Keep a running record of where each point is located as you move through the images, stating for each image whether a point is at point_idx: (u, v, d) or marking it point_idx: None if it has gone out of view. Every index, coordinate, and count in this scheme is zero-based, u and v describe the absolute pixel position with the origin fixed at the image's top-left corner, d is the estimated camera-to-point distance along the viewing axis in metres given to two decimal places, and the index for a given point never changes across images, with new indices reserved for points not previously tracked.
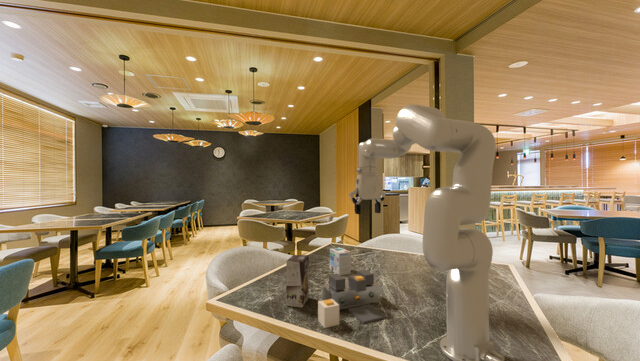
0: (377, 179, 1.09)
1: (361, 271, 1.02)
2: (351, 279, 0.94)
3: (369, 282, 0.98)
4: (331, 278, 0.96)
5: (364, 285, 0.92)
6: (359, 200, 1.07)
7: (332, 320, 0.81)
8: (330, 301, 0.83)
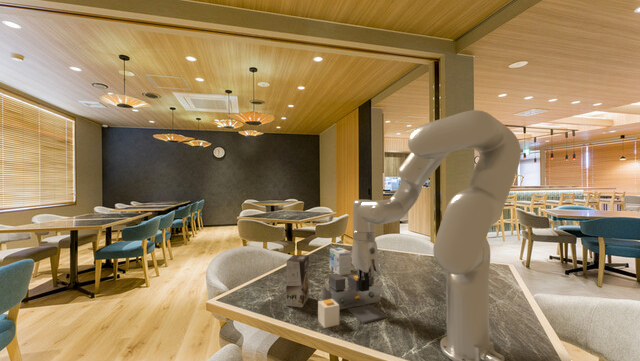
0: None
1: None
2: (350, 279, 0.95)
3: (369, 282, 0.98)
4: (331, 278, 0.96)
5: None
6: None
7: (332, 320, 0.81)
8: (330, 301, 0.83)
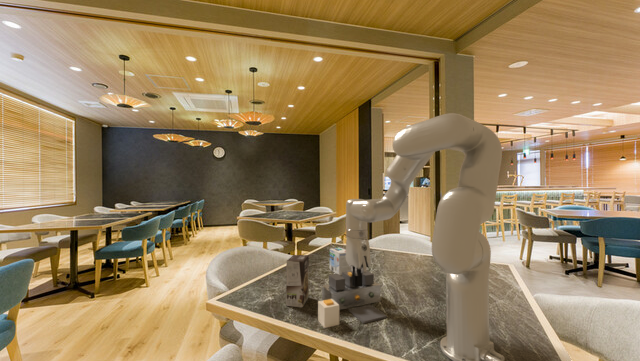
0: None
1: None
2: (344, 275, 0.99)
3: (369, 282, 0.98)
4: (331, 278, 0.96)
5: None
6: None
7: (332, 320, 0.81)
8: (330, 301, 0.83)
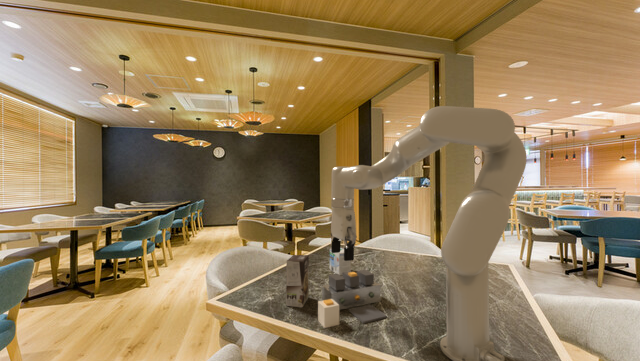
0: None
1: (361, 271, 1.02)
2: (345, 275, 0.99)
3: (369, 282, 0.98)
4: (331, 278, 0.96)
5: (357, 281, 0.96)
6: None
7: (332, 320, 0.81)
8: (330, 301, 0.83)
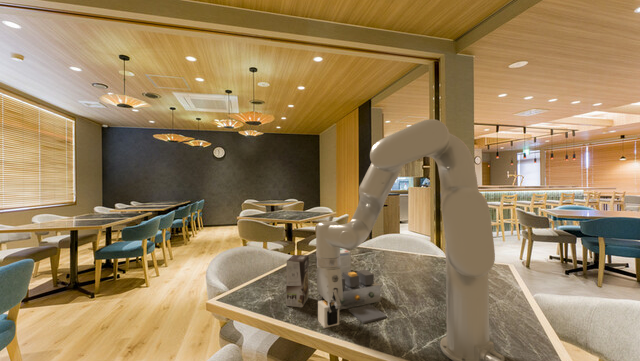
0: None
1: (361, 271, 1.02)
2: (345, 275, 0.99)
3: (369, 282, 0.98)
4: None
5: (357, 281, 0.96)
6: None
7: None
8: None
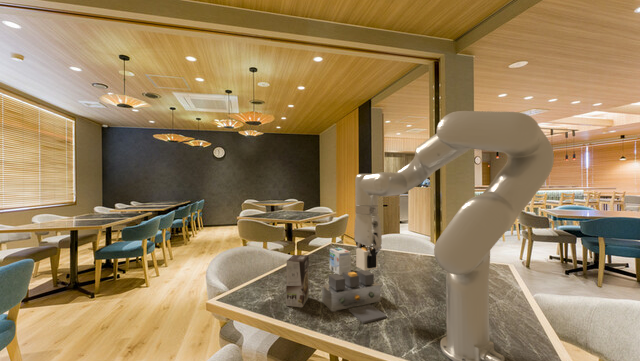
0: None
1: (361, 271, 1.02)
2: (345, 275, 0.99)
3: (369, 282, 0.98)
4: (331, 278, 0.96)
5: (357, 281, 0.96)
6: None
7: None
8: None
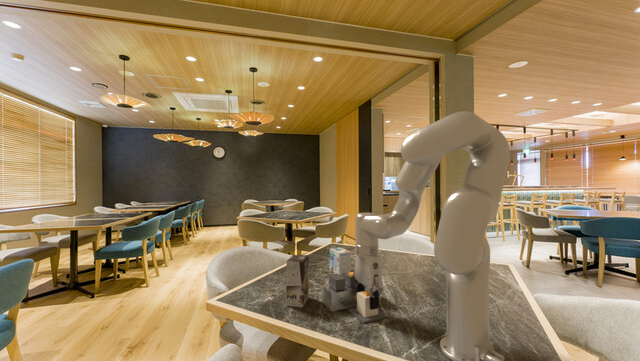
0: None
1: None
2: (345, 275, 0.99)
3: None
4: (331, 278, 0.96)
5: None
6: None
7: (371, 310, 0.86)
8: (369, 292, 0.88)
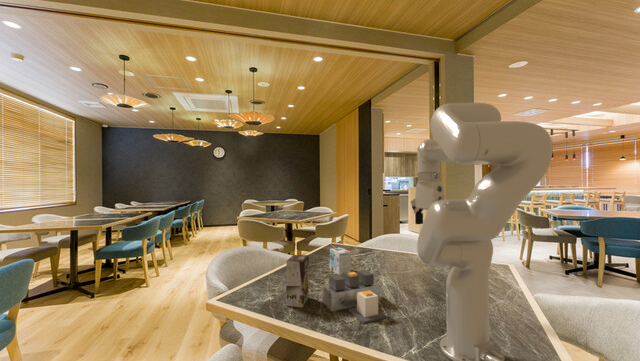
0: None
1: (361, 271, 1.02)
2: (345, 275, 0.99)
3: (369, 282, 0.98)
4: (331, 278, 0.96)
5: (357, 281, 0.96)
6: None
7: (371, 310, 0.86)
8: (369, 292, 0.88)
